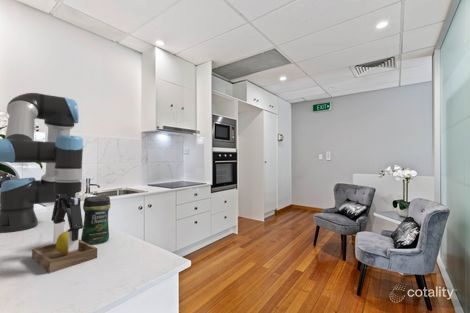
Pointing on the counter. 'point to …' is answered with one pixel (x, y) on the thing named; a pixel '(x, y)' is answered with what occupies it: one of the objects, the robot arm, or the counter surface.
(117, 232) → the counter surface
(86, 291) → the counter surface
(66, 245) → the lemon
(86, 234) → the coffee jar
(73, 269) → the counter surface
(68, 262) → the walnut tray
